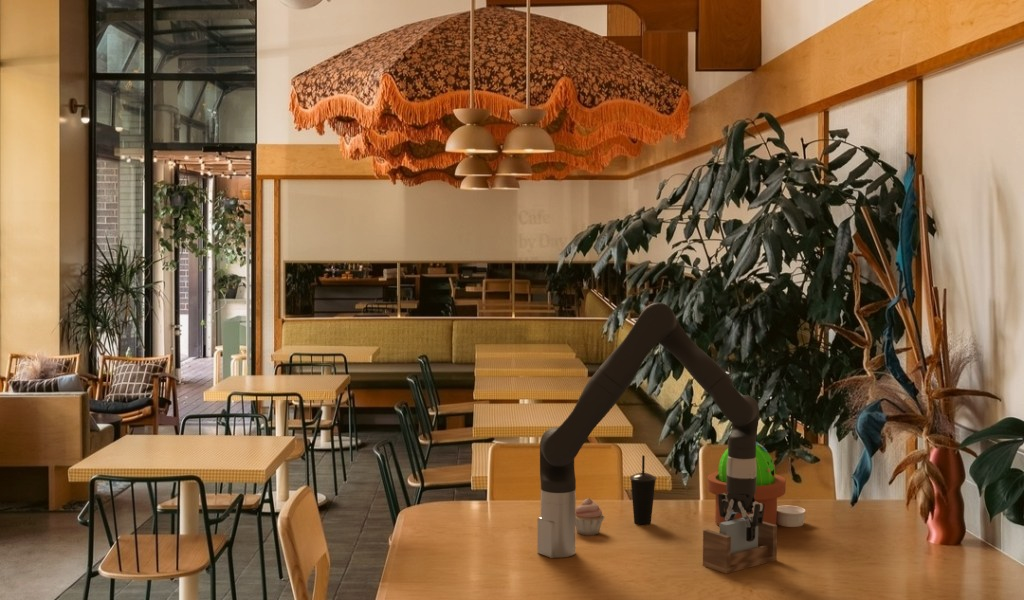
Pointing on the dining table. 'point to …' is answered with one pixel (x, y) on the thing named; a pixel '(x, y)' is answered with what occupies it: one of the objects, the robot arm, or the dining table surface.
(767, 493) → the potted cactus
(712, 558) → the wooden card holder
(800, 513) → the ramekin
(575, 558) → the dining table surface
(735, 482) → the robot arm
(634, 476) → the drinking cup
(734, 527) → the gray rectangular slab
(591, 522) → the cupcake
